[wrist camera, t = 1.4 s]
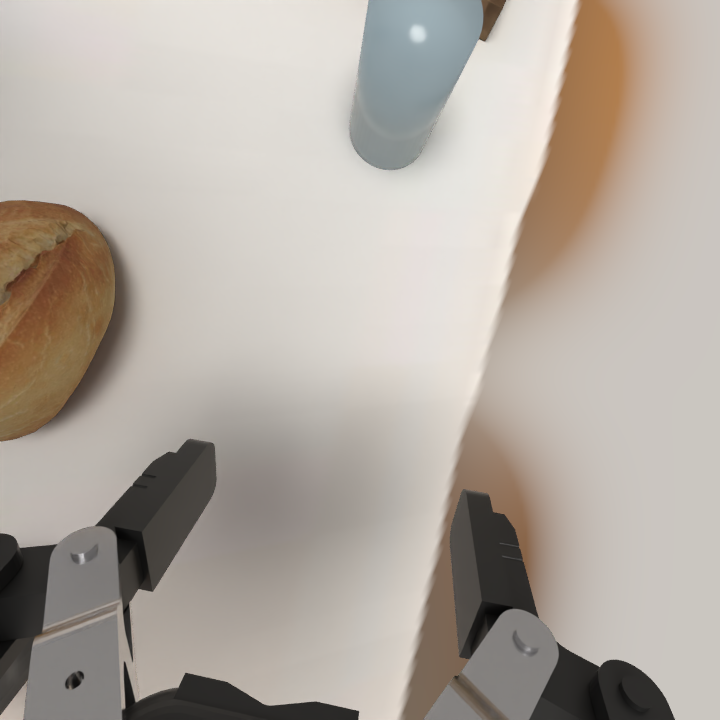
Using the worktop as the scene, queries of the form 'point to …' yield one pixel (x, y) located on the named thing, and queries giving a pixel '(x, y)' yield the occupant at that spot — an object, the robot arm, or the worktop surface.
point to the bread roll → (48, 309)
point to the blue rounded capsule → (408, 74)
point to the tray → (490, 15)
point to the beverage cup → (15, 676)
